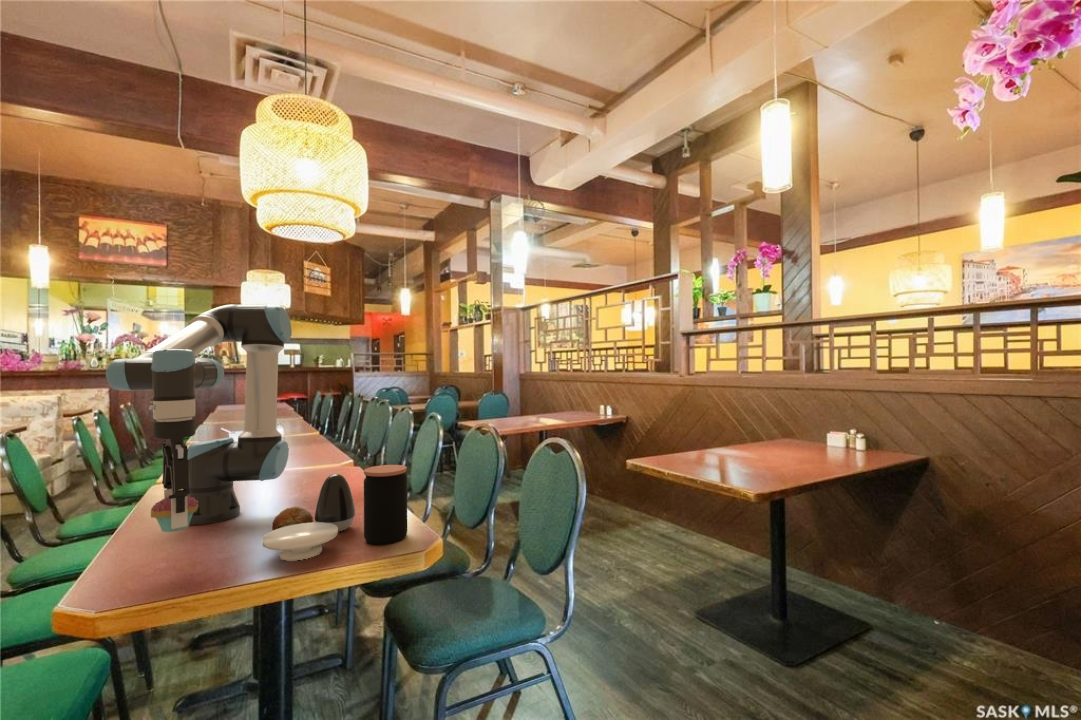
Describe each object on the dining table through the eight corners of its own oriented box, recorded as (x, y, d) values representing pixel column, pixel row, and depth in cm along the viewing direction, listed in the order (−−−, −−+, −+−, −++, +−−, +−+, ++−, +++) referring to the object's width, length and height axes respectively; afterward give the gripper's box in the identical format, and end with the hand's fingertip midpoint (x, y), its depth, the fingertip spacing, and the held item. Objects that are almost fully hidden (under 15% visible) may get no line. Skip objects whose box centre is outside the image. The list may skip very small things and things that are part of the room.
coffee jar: (416, 536, 128) (415, 467, 128) (382, 549, 119) (382, 474, 119) (389, 529, 133) (388, 463, 134) (355, 541, 125) (354, 470, 125)
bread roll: (316, 539, 137) (322, 510, 141) (296, 535, 128) (304, 503, 131) (282, 539, 138) (290, 509, 141) (260, 534, 129) (269, 503, 132)
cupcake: (168, 522, 112) (168, 470, 112) (207, 521, 112) (207, 469, 112) (140, 536, 103) (140, 479, 103) (183, 534, 104) (182, 478, 104)
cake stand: (253, 554, 116) (253, 533, 116) (322, 537, 127) (322, 518, 128) (275, 573, 105) (275, 550, 105) (349, 553, 116) (349, 532, 116)
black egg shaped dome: (354, 522, 141) (354, 468, 141) (356, 532, 131) (356, 475, 131) (315, 527, 137) (315, 472, 137) (314, 538, 127) (314, 479, 127)
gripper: (145, 417, 112) (147, 515, 113) (160, 425, 97) (162, 539, 98) (185, 414, 118) (186, 508, 118) (205, 421, 103) (206, 529, 103)
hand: (175, 522), depth 108 cm, fingers closed on cupcake, 8 cm apart
